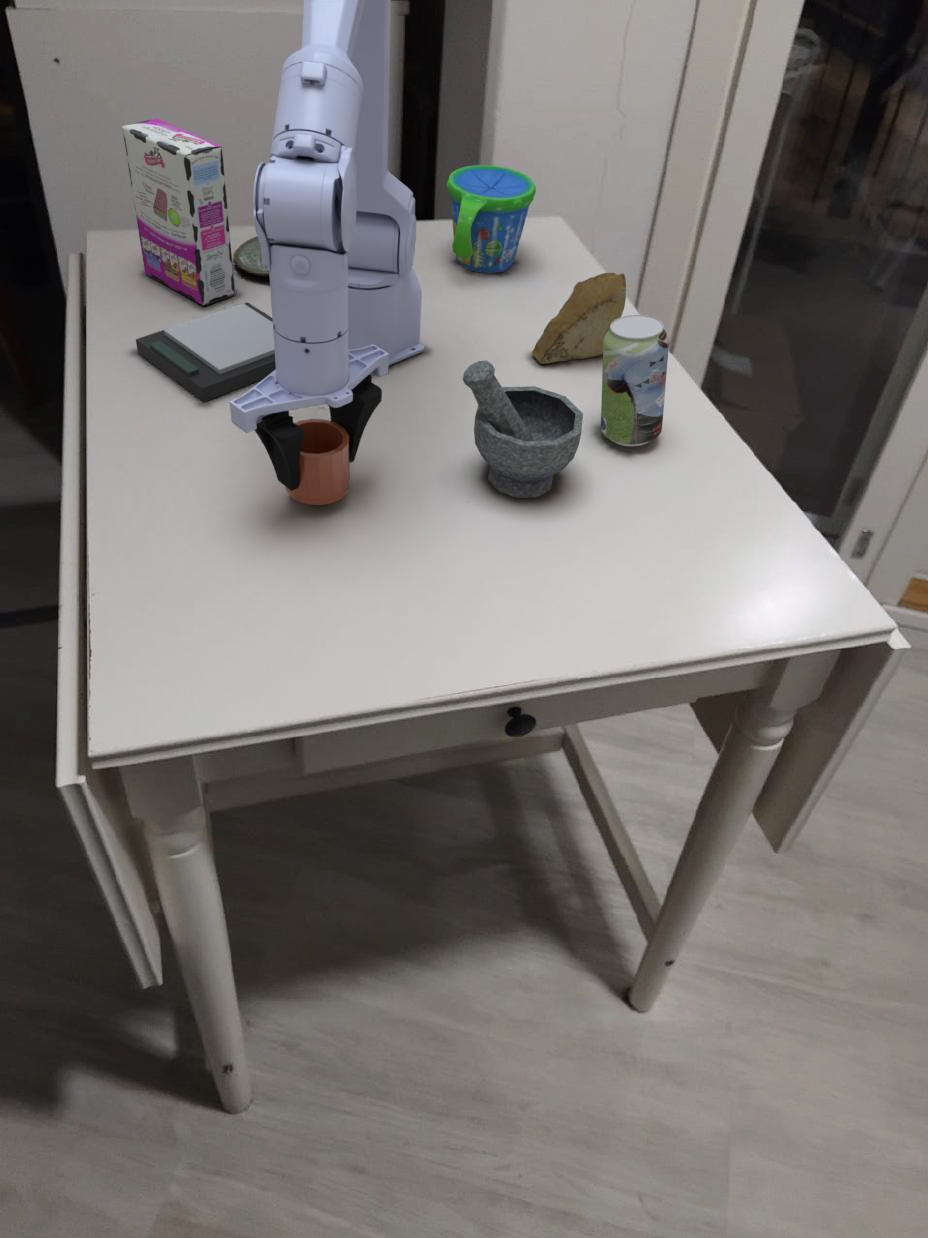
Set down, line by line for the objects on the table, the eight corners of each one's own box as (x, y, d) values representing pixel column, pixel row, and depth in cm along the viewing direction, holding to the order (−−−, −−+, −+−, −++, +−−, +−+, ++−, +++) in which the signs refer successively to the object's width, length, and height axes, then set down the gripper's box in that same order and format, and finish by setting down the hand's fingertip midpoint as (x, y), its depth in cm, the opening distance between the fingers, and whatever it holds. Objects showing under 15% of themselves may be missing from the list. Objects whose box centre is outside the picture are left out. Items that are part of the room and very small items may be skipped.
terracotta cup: (322, 458, 86) (320, 411, 82) (362, 488, 83) (362, 440, 80) (271, 482, 83) (268, 434, 79) (312, 513, 80) (309, 465, 77)
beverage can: (656, 459, 92) (686, 347, 84) (582, 445, 93) (604, 333, 85) (660, 425, 97) (688, 315, 88) (589, 412, 98) (610, 302, 89)
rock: (533, 359, 100) (629, 354, 99) (531, 274, 99) (627, 269, 98) (530, 372, 110) (616, 367, 110) (528, 296, 109) (614, 291, 109)
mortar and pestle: (559, 447, 93) (579, 334, 84) (583, 506, 86) (608, 391, 78) (446, 451, 91) (455, 336, 82) (462, 512, 84) (473, 394, 76)
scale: (248, 315, 106) (247, 296, 105) (315, 358, 101) (315, 339, 99) (137, 352, 99) (134, 333, 97) (203, 402, 93) (201, 382, 92)
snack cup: (489, 296, 114) (497, 211, 107) (416, 271, 118) (420, 187, 110) (548, 254, 124) (560, 174, 117) (479, 231, 128) (486, 152, 120)
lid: (334, 281, 117) (339, 239, 114) (276, 286, 109) (280, 241, 107) (273, 257, 121) (277, 216, 119) (213, 260, 114) (216, 216, 111)
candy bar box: (238, 294, 110) (224, 144, 98) (203, 308, 107) (185, 154, 95) (177, 261, 114) (158, 114, 103) (142, 273, 111) (118, 123, 100)
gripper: (264, 377, 66) (276, 527, 76) (416, 318, 74) (409, 460, 84) (206, 337, 70) (225, 485, 79) (357, 284, 78) (357, 425, 87)
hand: (316, 470), depth 82 cm, fingers closed on terracotta cup, 5 cm apart
